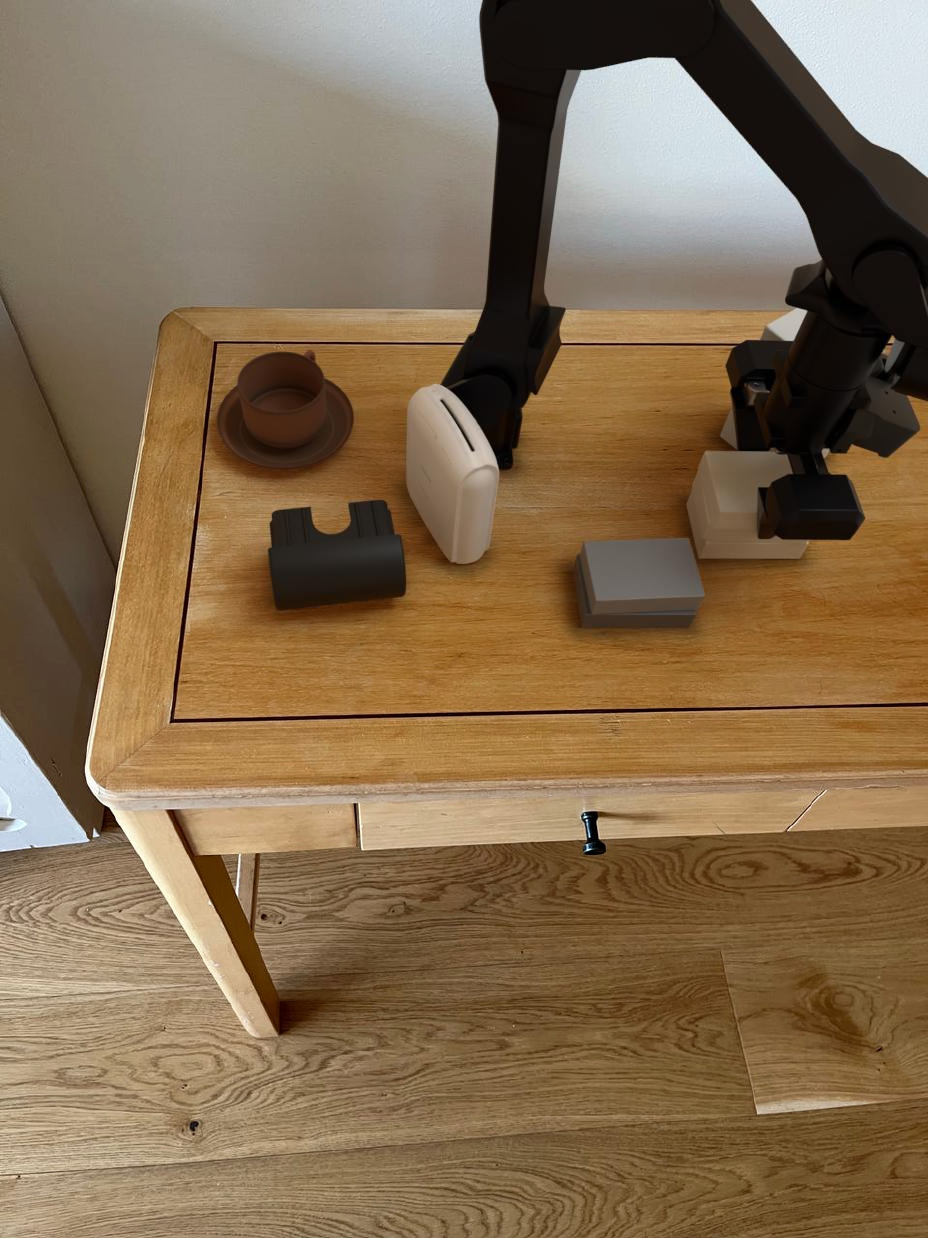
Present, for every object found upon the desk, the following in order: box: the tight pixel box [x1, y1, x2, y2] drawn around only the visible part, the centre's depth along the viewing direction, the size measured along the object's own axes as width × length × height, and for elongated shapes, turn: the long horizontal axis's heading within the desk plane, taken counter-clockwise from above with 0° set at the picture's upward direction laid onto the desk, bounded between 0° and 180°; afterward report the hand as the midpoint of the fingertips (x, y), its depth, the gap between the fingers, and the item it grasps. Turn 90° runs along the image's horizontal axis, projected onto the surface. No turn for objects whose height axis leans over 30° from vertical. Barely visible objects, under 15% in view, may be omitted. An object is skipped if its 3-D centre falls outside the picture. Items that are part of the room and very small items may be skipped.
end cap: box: [267, 499, 407, 612], centre depth 72 cm, size 10×7×7 cm
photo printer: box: [405, 383, 500, 565], centre depth 75 cm, size 10×4×12 cm, turn 26°
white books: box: [686, 469, 810, 560], centre depth 80 cm, size 9×6×4 cm
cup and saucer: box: [216, 349, 355, 472], centre depth 81 cm, size 12×12×6 cm
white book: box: [697, 450, 793, 529], centre depth 77 cm, size 9×7×2 cm
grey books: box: [572, 537, 706, 629], centre depth 75 cm, size 9×6×4 cm
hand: (754, 505), depth 78 cm, fingers closed on white book, 7 cm apart
